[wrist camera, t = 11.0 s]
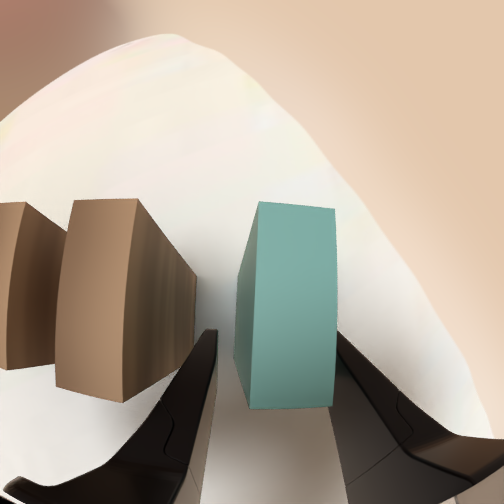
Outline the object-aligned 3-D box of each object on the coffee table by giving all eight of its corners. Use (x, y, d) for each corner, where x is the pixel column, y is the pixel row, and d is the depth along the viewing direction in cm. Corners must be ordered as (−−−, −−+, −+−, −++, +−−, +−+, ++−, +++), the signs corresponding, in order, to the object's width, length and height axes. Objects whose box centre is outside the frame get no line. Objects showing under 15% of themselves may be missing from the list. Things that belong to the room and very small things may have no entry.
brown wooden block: (127, 271, 17) (25, 201, 7) (122, 350, 16) (6, 370, 5) (100, 269, 17) (-12, 203, 6) (94, 346, 16) (-31, 354, 5)
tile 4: (196, 276, 17) (137, 198, 7) (193, 358, 16) (122, 402, 6) (165, 274, 17) (74, 200, 7) (160, 355, 16) (55, 386, 6)
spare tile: (270, 278, 18) (334, 209, 7) (267, 359, 17) (332, 406, 6) (237, 276, 18) (258, 201, 7) (233, 358, 17) (249, 409, 6)
